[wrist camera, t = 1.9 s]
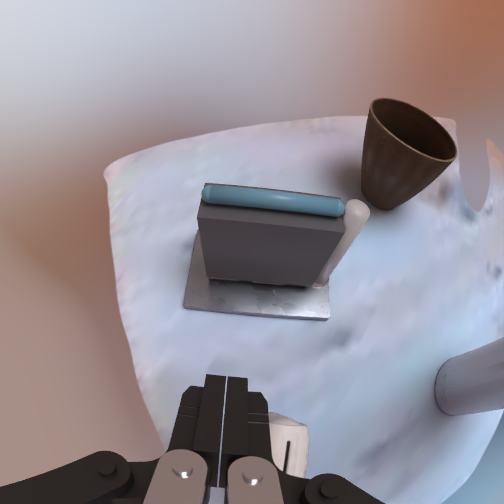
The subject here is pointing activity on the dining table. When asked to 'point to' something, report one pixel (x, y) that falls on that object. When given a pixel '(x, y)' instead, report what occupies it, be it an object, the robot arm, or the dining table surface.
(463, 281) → the dining table surface
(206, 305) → the panel
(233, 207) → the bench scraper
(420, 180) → the plant pot
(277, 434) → the photo printer
